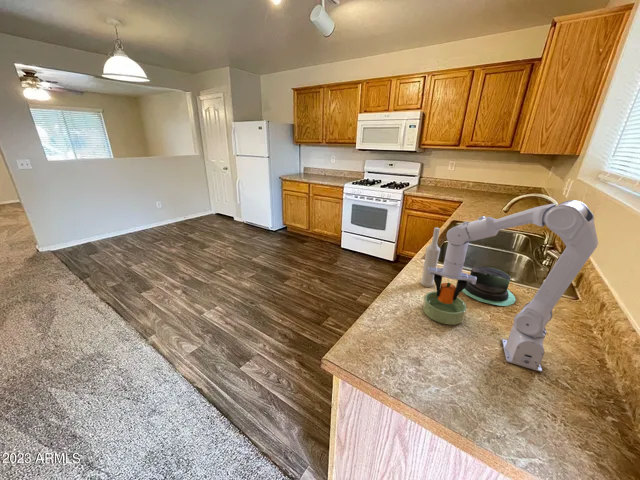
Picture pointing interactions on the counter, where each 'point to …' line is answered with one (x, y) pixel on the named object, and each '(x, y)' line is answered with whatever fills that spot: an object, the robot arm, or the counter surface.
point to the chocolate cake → (490, 286)
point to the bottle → (431, 260)
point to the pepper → (446, 293)
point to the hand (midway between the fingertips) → (446, 296)
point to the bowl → (444, 309)
